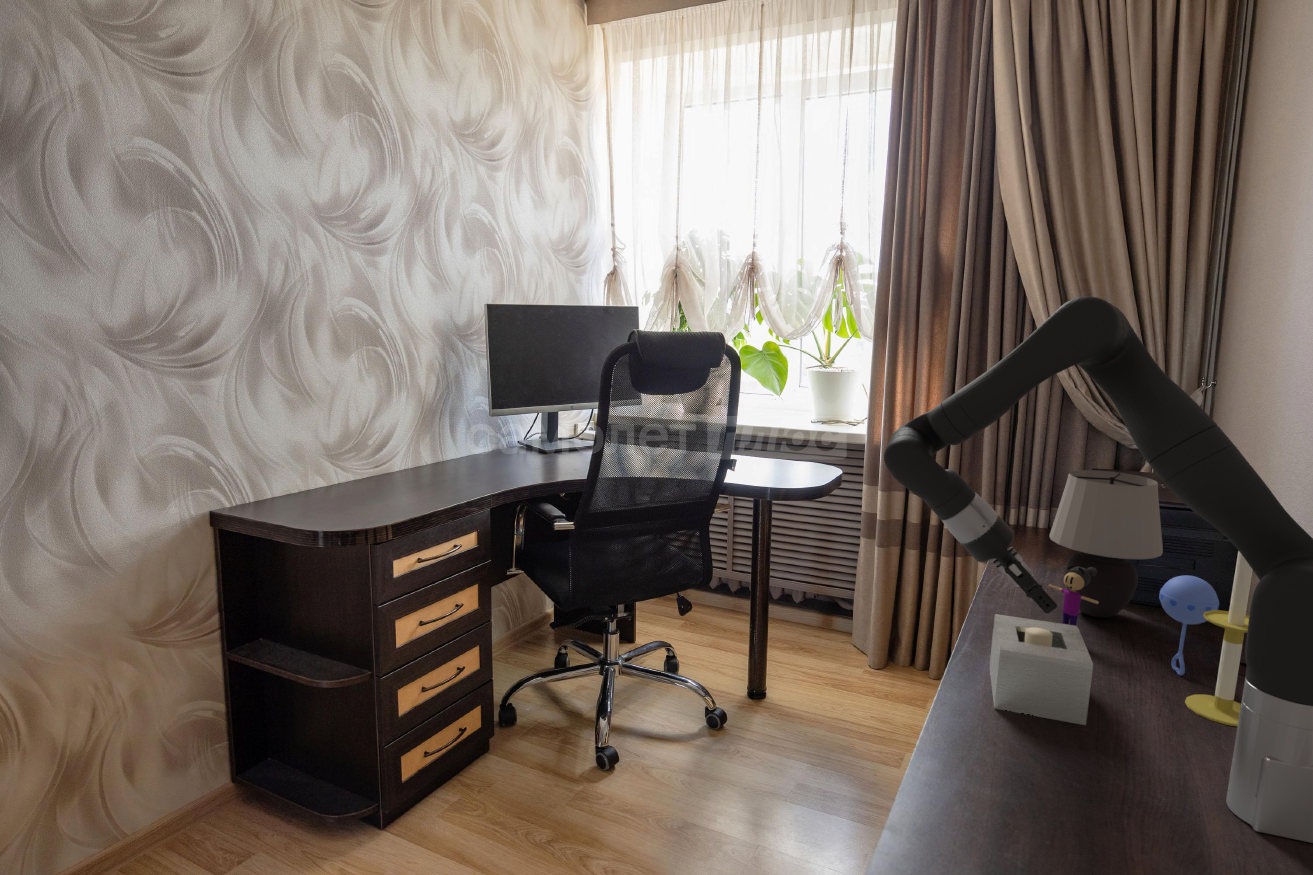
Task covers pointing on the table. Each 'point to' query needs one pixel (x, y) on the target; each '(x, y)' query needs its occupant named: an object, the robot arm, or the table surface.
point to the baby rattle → (1187, 606)
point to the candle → (1227, 652)
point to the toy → (1075, 592)
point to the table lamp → (1108, 533)
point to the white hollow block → (1040, 670)
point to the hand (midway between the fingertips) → (1043, 599)
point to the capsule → (1038, 636)
